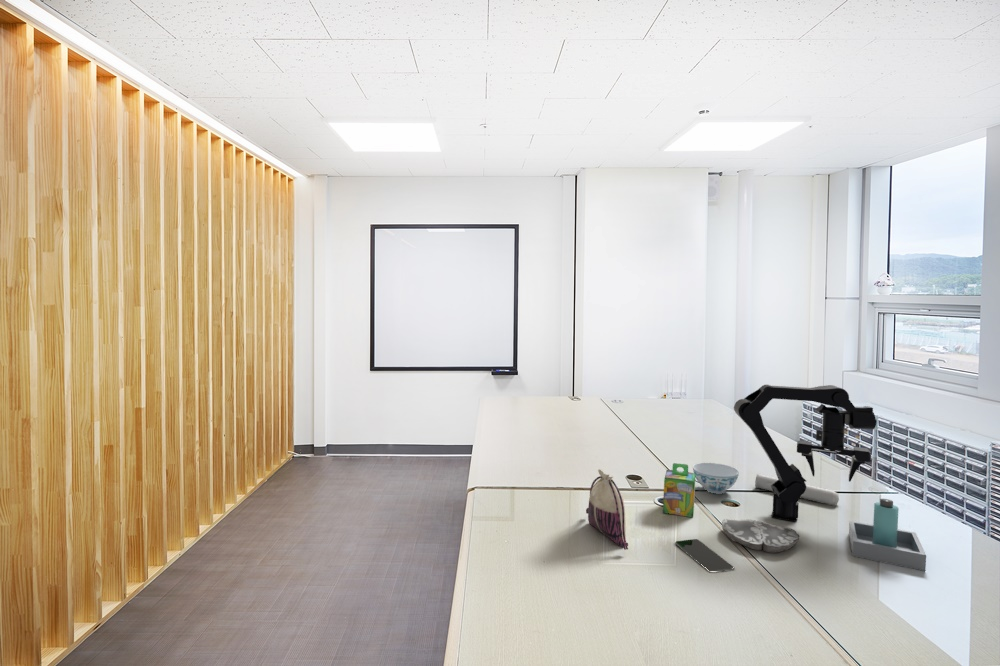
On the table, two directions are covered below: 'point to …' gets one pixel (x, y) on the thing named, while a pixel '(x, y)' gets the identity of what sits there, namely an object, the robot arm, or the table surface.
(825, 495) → the tube
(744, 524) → the brain slice
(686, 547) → the smartphone
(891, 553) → the tray
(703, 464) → the chinaware
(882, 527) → the capped bottle
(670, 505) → the chalk box
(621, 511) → the pouch
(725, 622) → the table surface
